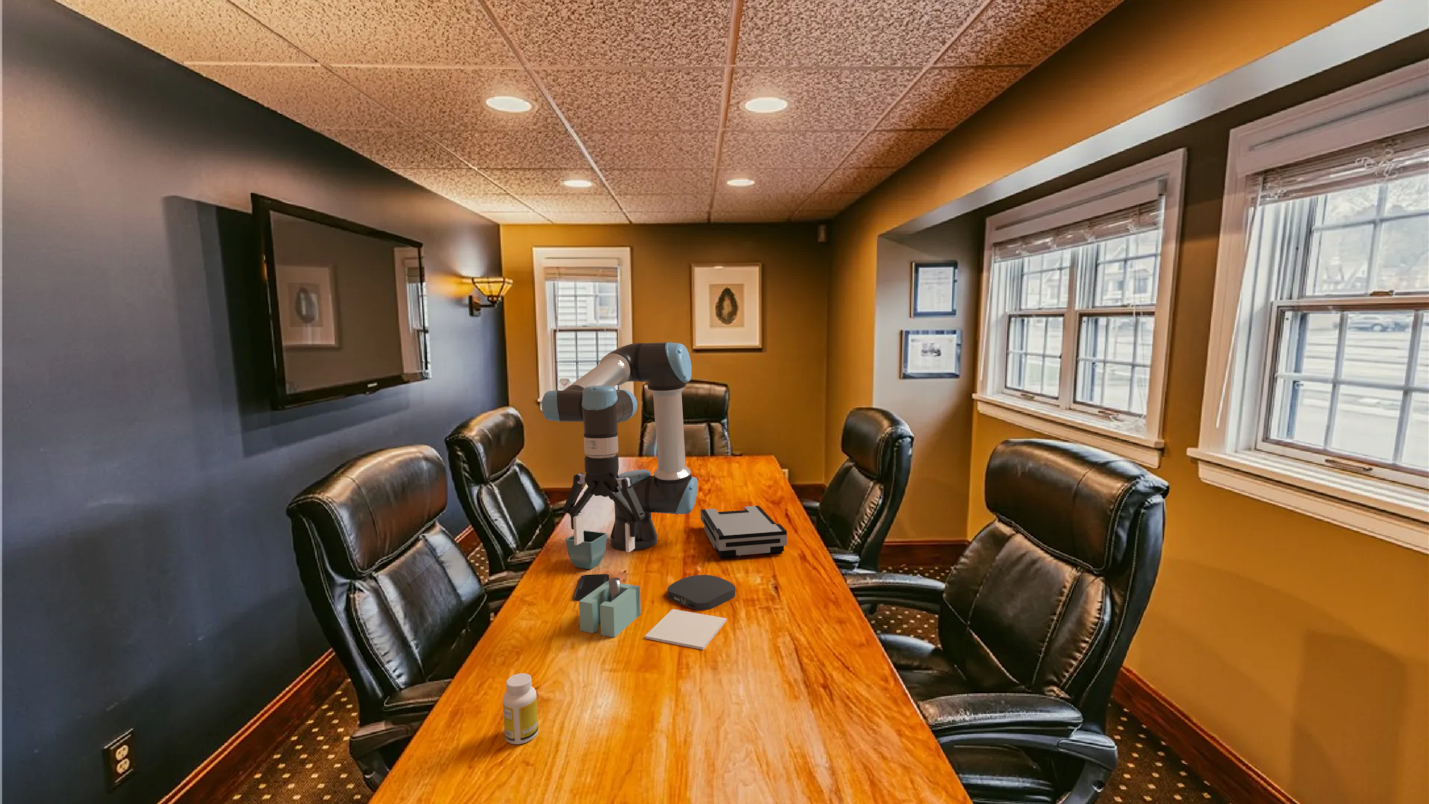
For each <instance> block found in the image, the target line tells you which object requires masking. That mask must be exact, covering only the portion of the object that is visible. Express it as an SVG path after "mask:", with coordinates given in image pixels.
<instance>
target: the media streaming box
mask: <svg viewBox="0 0 1429 804" xmlns="http://www.w3.org/2000/svg"><path fill="white" fill-rule="evenodd" d="M735 597H736V586H735V584H734V583H733V582H731V581H729V580H726V579H724V578H721V577H720V576H716V575H711V574H695V575H689V576H686V577H683V578H681V579H678V580H677V581H675V582H673V583H671V584H670V585H668V587H667V598H668V599H669V600H671V601H672V602H675V603H677V604H680V605H681V606H683V607H687V608H689V609H692V610H694V611H708V610H711V609H713V608H716V607H718V606H720V605H722V604H724V603H726V602H728V601H729V600H731V599H734V598H735Z"/></svg>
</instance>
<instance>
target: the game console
mask: <svg viewBox="0 0 1429 804" xmlns="http://www.w3.org/2000/svg"><path fill="white" fill-rule="evenodd" d="M700 521H701V522H702V524H703V526H704V527H703V528H704V532H705V534H706V536H707V538H708V540H709V541H710V543H711V545H712V547H713V548H714V550H715V552H716V553H717V555H718V557H719V559H720V560H723V559H737V558H741V556H744V555H745V556H746V555H747V556H748V555H756V554H761V555H762V556H772V555H783V552H785V546H788V530H787V529H786V528H785V527H784V526H783V524H781V523H776V522H775V520H773V519H772V517H770V515H769V514H768V513H767V512H765V510H764V509H763V508H762V507H761V506H760V505H750V506H749V505H747V506H744V508H743V509H741V510H728V511H718V510H717V509H716V508H706V509H703V508H702V509H700Z"/></svg>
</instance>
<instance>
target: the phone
mask: <svg viewBox="0 0 1429 804" xmlns="http://www.w3.org/2000/svg"><path fill="white" fill-rule="evenodd" d="M609 579H610V574H608V573H597V574H594V573H593V574H583V575H581V576H580V578H579V581H578V583H577V586H576V589H575V591H574V595H573V601H575V602H579V601H580V600H581V599H583V598H584V597H586V596H587V595H588V594H590V593H591V592H593V591H594V590H596V589H597V588H598V587H600V586H601V585H603V584H604V583H605V582H607V581H609Z"/></svg>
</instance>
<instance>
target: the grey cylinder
mask: <svg viewBox="0 0 1429 804" xmlns="http://www.w3.org/2000/svg"><path fill="white" fill-rule="evenodd" d="M620 583H621V578H619V577H611V578H609V599H610V602H612V601H613V600H614V599H615V598H617V597H618V596H619V595H621V592H620Z"/></svg>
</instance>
